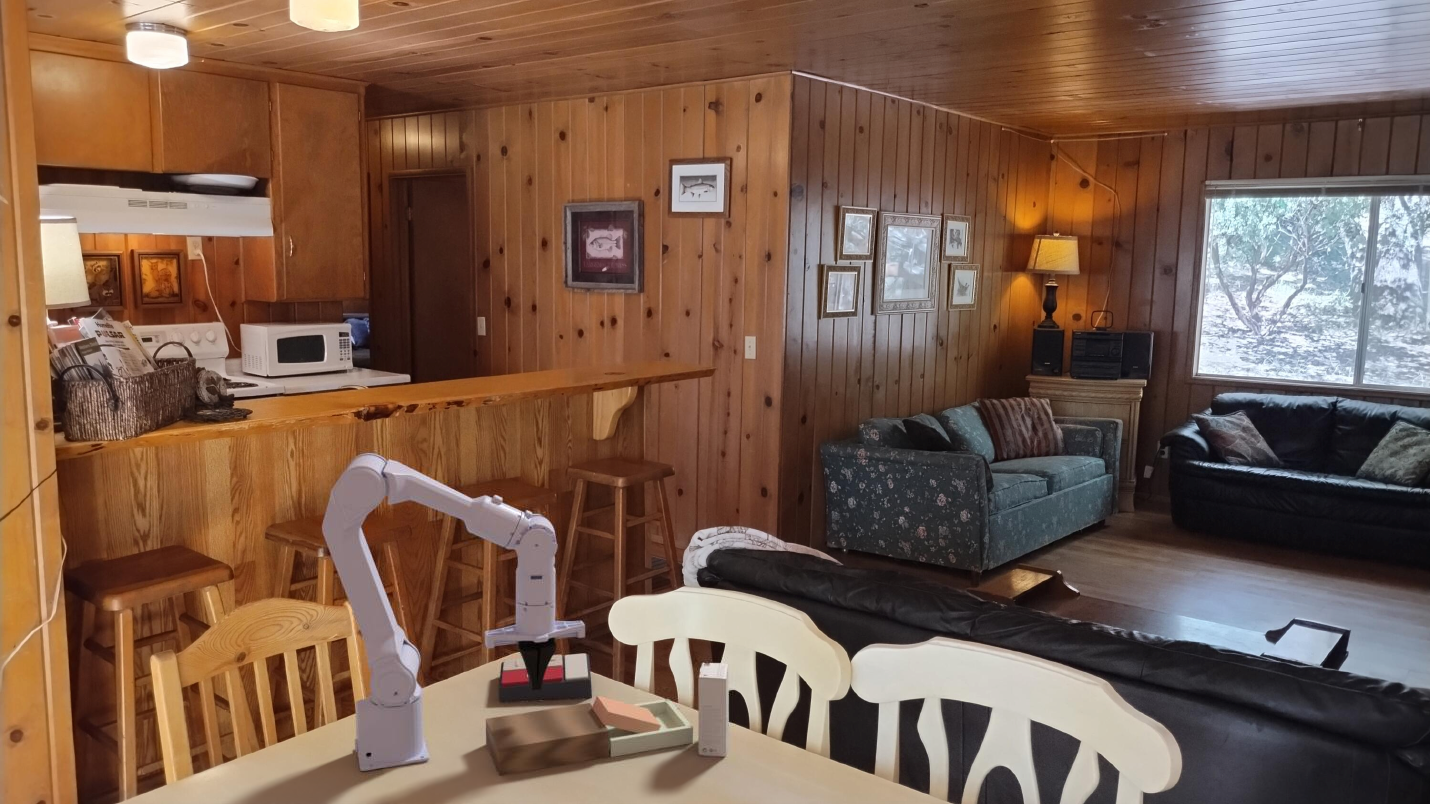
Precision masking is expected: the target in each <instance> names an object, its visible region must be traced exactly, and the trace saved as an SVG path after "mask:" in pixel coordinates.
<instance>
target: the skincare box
mask: <svg viewBox="0 0 1430 804" xmlns="http://www.w3.org/2000/svg"><path fill="white" fill-rule="evenodd" d="M697 681H698V684H697V686H698V688H697V689H698V692H697V693H698V694H697V695H698V754H699V755H700V756H704V757H705V756H706V757H726V756H727V754H728V749H729V745H730V744H729V743H730V742H729V740H730V737H729V735H730V730H729V729H730V728H729V725H730V724H729V723H730V721H729V719H730V717H729V716H730V714H729V713H730V712H729V710H730V709H729V707H730V706H729V704H730V703H729V699H730V697H729V694H730V693H729V691H730V689H729V687H730V686H729V664H728V663H723V662H721V663H719V662H702V663H701V666H700V669H699V674H698V680H697Z"/></svg>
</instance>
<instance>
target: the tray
mask: <svg viewBox="0 0 1430 804" xmlns="http://www.w3.org/2000/svg"><path fill="white" fill-rule="evenodd" d="M631 705H635V706H639V707H643V708H647V709H649V711H650V712H651V713H652V714H653V716H654V717H655V718H656V719H657V721H658V722H659V723H660V725H661V727H660V729H659V730H658V731H652V732H646V733H636V732H632V731H628V730H624V729H620V728H616V727H612V726H608V725H605V726H606V727H607V729H608V730H609V756H610V758H614V757H618V756H624V755H631V754H636V753H637V754H638V753H643V752H647V751H654V750H659V749H664V748H671V747H676V746H682V745H688V744H693V743H694V726H693V725H692V724H691V723H690V722H689V720H688V719H687V718H686V717H685V716H684V715H683V714H682V712H681V711H680V710H679V709H678V707H676V705H675V704H674V703H673V702H672V701H671V700H670V698H667V699H666V698H665V699H657V700H652V701H645V702H639V703H634V704H631Z"/></svg>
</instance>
